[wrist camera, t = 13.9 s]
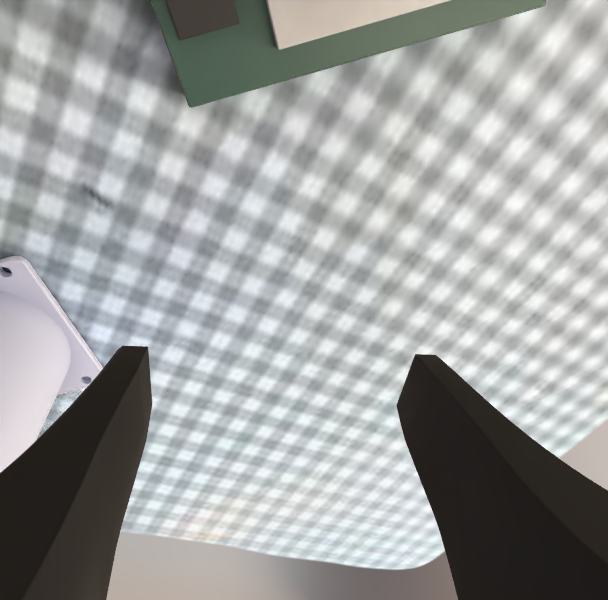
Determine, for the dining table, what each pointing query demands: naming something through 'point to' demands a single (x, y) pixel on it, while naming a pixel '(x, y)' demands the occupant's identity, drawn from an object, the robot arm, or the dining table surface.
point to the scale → (301, 36)
